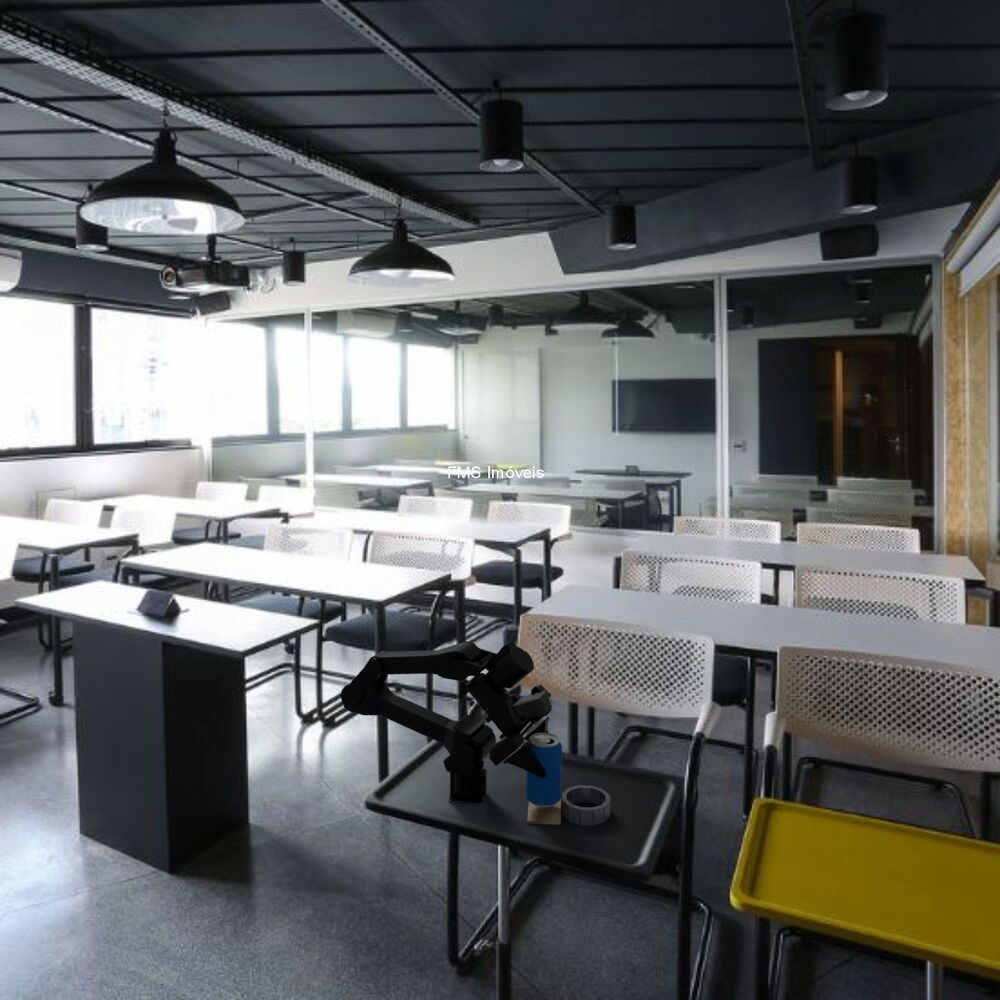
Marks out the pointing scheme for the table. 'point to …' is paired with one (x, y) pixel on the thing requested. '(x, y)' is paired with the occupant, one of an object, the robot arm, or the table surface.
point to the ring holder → (584, 813)
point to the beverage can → (550, 758)
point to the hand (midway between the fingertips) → (551, 768)
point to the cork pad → (544, 814)
